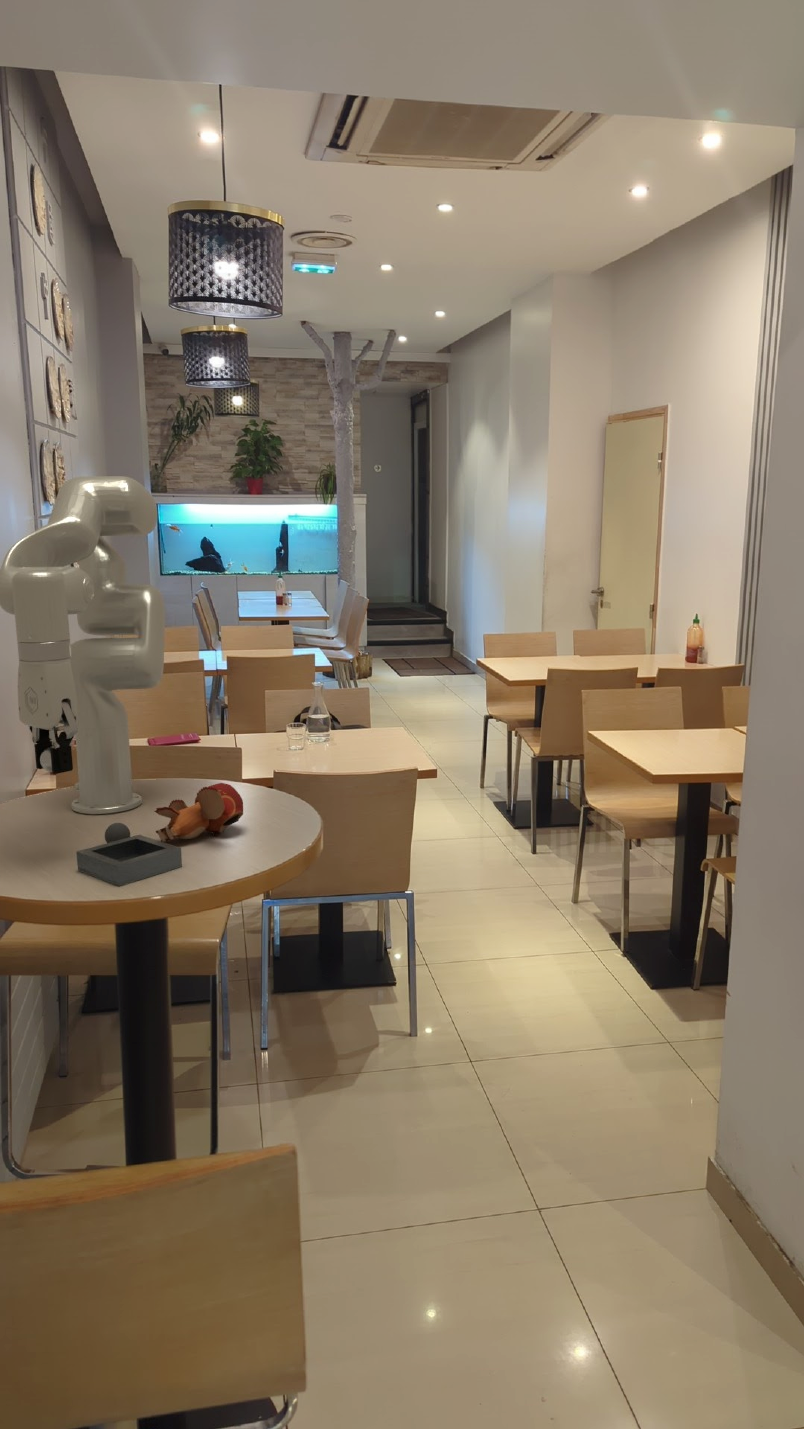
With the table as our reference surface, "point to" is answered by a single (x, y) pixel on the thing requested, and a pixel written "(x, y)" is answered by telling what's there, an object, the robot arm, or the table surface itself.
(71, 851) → the table surface
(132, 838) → the square metal tray
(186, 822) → the figurine
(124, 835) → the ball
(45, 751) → the steel ball
